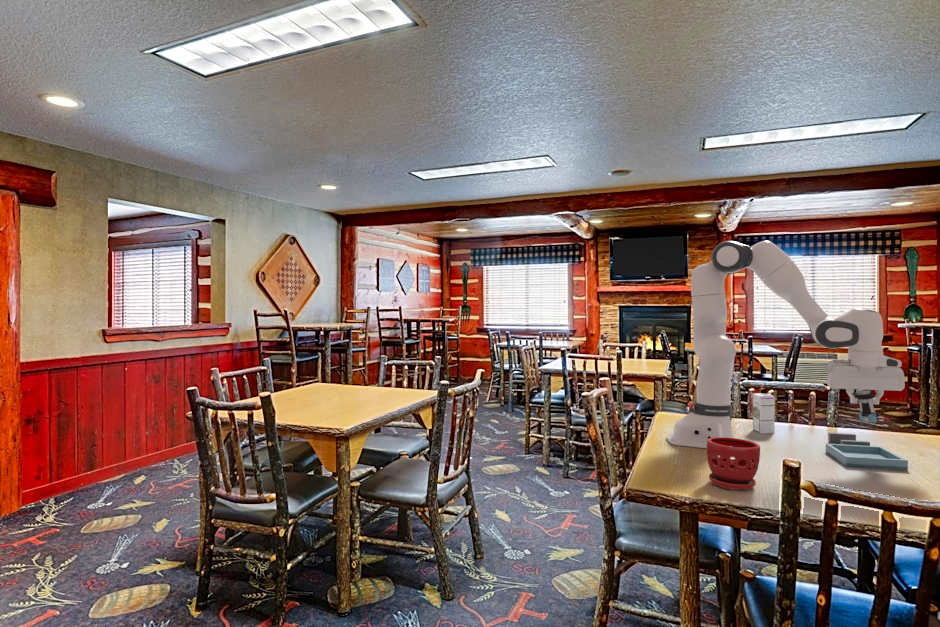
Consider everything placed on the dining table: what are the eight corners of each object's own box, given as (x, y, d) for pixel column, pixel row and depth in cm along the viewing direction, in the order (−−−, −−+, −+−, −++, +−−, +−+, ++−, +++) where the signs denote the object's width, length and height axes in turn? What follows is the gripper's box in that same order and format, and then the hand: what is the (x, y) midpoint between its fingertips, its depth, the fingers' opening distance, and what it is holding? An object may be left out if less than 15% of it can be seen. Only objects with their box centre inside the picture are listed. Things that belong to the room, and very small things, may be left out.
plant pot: (762, 496, 139) (762, 450, 139) (706, 489, 144) (706, 444, 144) (757, 480, 151) (757, 438, 151) (706, 474, 156) (706, 433, 156)
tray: (846, 466, 164) (846, 456, 164) (825, 452, 179) (825, 443, 179) (907, 470, 160) (907, 460, 160) (881, 455, 175) (881, 446, 175)
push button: (888, 420, 167) (881, 388, 168) (878, 424, 165) (871, 392, 165) (865, 418, 173) (858, 388, 174) (855, 422, 171) (849, 391, 171)
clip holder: (842, 451, 181) (842, 440, 180) (828, 442, 192) (828, 432, 192) (869, 452, 179) (870, 442, 178) (853, 443, 190) (854, 433, 190)
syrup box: (775, 433, 205) (775, 395, 205) (759, 433, 205) (759, 395, 205) (767, 429, 211) (767, 393, 211) (751, 429, 211) (752, 393, 211)
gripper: (831, 360, 169) (831, 404, 169) (908, 361, 164) (907, 407, 164) (823, 358, 175) (823, 400, 175) (897, 359, 170) (896, 403, 170)
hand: (864, 403), depth 169 cm, fingers closed on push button, 4 cm apart
